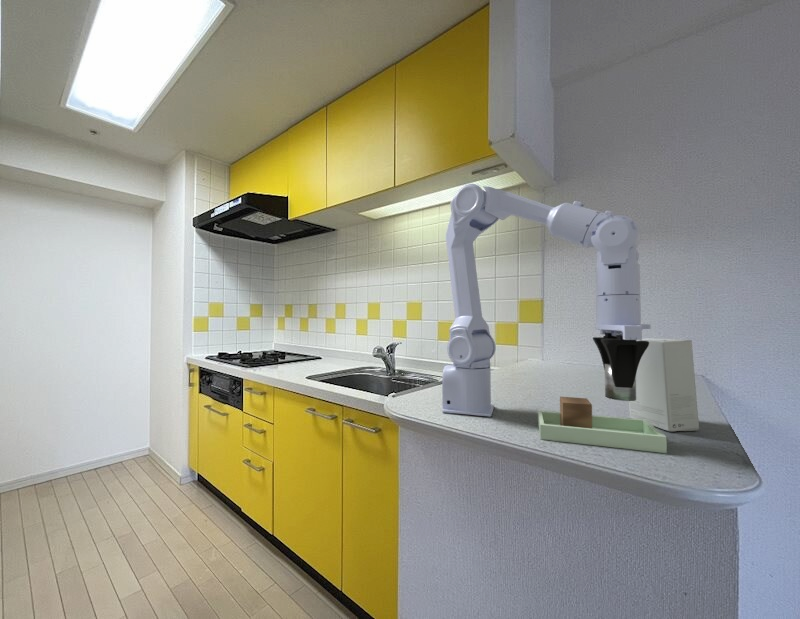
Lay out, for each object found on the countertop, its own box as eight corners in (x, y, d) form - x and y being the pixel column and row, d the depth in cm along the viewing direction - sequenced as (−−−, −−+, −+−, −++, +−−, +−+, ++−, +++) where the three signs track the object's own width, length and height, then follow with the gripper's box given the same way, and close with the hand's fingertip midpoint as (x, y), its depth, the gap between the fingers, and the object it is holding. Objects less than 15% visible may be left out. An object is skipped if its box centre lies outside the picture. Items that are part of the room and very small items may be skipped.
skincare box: (700, 431, 54) (697, 339, 54) (667, 433, 53) (665, 340, 54) (653, 415, 62) (652, 336, 63) (625, 417, 62) (623, 337, 62)
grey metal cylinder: (608, 399, 50) (607, 366, 50) (602, 393, 54) (602, 362, 54) (640, 402, 48) (639, 367, 48) (632, 395, 52) (631, 363, 52)
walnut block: (563, 434, 52) (562, 402, 52) (560, 426, 56) (559, 396, 56) (592, 437, 50) (591, 404, 51) (587, 429, 54) (586, 398, 54)
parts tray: (540, 439, 51) (540, 424, 51) (538, 423, 59) (537, 410, 59) (666, 453, 46) (666, 437, 46) (646, 433, 53) (645, 419, 53)
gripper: (668, 292, 43) (671, 396, 43) (633, 297, 57) (634, 377, 57) (606, 293, 46) (608, 392, 45) (586, 298, 59) (587, 374, 59)
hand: (619, 384), depth 51 cm, fingers closed on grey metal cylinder, 4 cm apart
